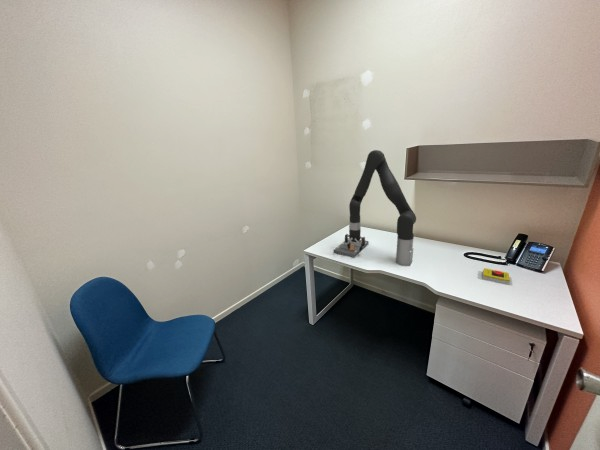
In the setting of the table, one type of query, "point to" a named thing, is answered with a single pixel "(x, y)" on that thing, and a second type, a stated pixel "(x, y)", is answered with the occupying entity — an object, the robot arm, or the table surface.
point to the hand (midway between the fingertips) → (354, 249)
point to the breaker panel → (344, 250)
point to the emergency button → (495, 276)
